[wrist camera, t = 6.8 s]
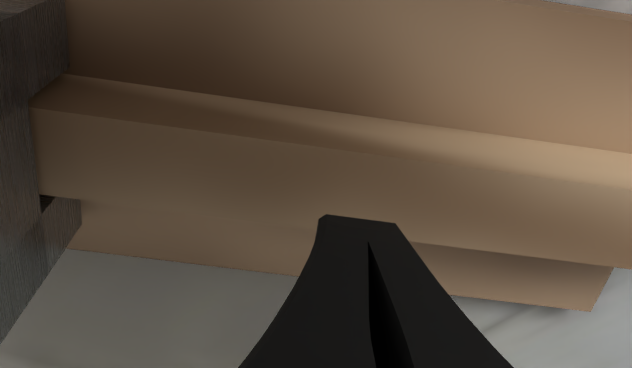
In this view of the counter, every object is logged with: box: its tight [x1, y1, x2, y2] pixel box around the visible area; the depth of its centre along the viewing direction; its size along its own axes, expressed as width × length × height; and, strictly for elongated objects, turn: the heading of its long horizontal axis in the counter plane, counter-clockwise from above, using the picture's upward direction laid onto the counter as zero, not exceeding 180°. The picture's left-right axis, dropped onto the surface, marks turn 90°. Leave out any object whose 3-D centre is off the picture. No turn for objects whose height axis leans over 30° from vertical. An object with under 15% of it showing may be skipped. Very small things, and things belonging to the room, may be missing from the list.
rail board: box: [28, 0, 632, 312], centre depth 12 cm, size 8×20×5 cm, turn 82°
